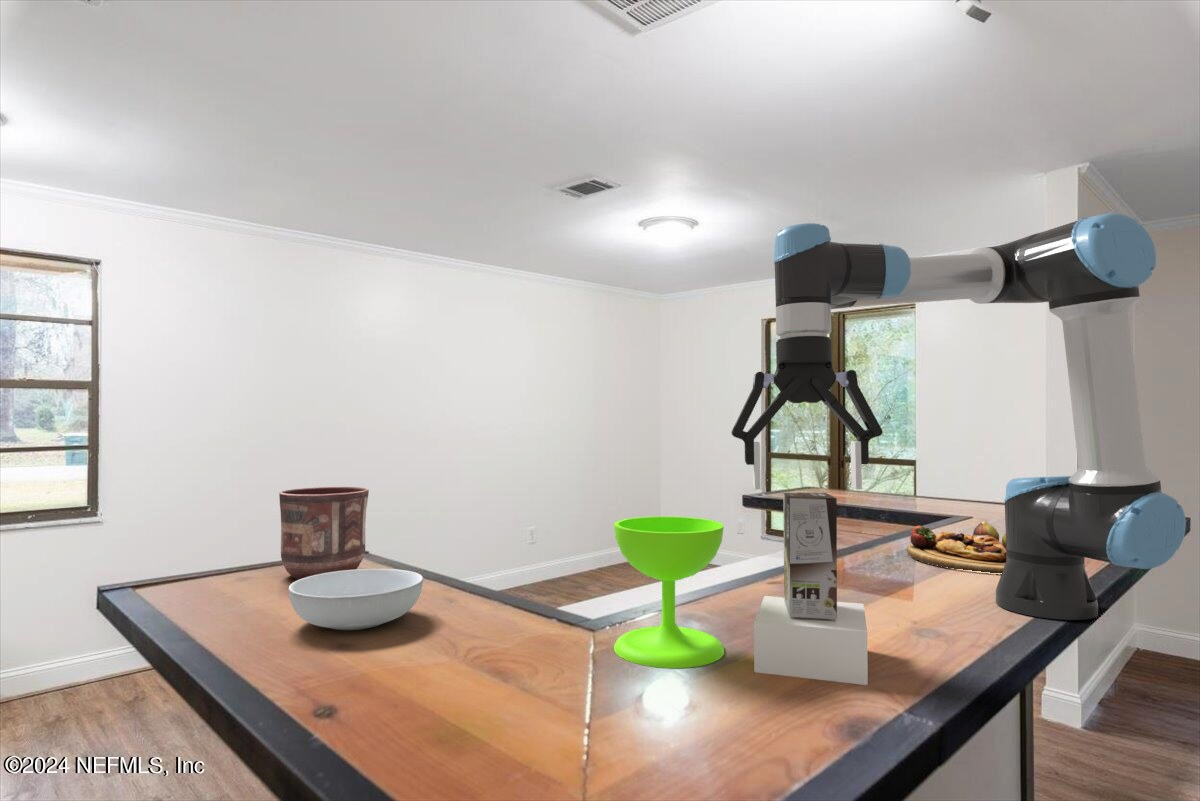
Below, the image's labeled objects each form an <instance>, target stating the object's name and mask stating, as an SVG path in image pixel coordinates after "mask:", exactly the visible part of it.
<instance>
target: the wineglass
mask: <svg viewBox="0 0 1200 801" xmlns="http://www.w3.org/2000/svg"><path fill="white" fill-rule="evenodd" d="M724 527H725V526H724V523H722V522H720V521H716V520H712V519H707V518H701V517H698V518H697V517H690V516H688V517H687V516H667V515H666V516H660V515H659V516H640V517H630V518H625V519H620V520H616V521H615V522H614V523H613V528H614V529H613V530H614V536H615V539H616V543H617V545H618V548H619V550H620V551H621V554H622V555H623V556H624V558H625V560H627V562H628V563H629V564H630V566H632V567H633V568H635V570H637V571H638V572H640V573H641V574H643V575H645V576H647V577H651V578H653V579H655V580H659V581H661V600H662V601H661V624H660V625H659V626H657V625H656V626H646V627H641V628H636V629H633V630H630V631H627V632H625V633H623V634H622V635H621V636H619V637H618V638H617V639H616V641H615V643H614V645H613V650H614V653H615V654H616V655H617V656H619V658H622V659H624V660H626V661H627V662H631V663H634V664H637V665H641V666H646V667H653V668H663V669H690V668H694V667H695V668H696V667H702V666H705V665H709V664H710V665H711V664H712V663H715V662H717V661H718V660H719V661H720V659H722V658H723V656H724V655H725V648H724V645H723V644H722V643H721V642H720V640H719V639H718V638H717V637H715V636H713V635H712V634H711V633H707V632H705V631H702V630H700V629H699V630H698V629H695V628H690V627H684V626H683V627H682V626H678V625H677V623H676V581H680V580H684V579H686V578H689V577H693V576H695V575H696V574H697V573H699V572H701V571H702V570H703V569H704V568H706V567H707V566H708V565H710V563H711V562H712V561H713V559H714V558H715V557H716V556H717V553H718V551H719V548H720V546H721V544H722V541H723V535H724V534H723V533H724Z"/></svg>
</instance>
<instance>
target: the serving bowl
mask: <svg viewBox="0 0 1200 801" xmlns="http://www.w3.org/2000/svg"><path fill="white" fill-rule="evenodd" d="M423 583H424V576H423V575H422V574H420V573H419V572H418V573H417V572H415V571H411V570H406V569H395V568H394V569H393V568H356V570H344V571H336V572H329V573H323V574H318V575H313V576H309V577H306V578H302V579H300V580H297V579H296V580H295V581H293V582H292V583H291V584H289V586H288V596H289V601H290V604H291V606H292V607H291V608H293V610H294V612H295V613H296V615H298V617H299V618H300V619H301V620H303V621H305V622H306V623H308V624H311V625H314V626H317V627H321V628H327V629H333V630H336V631H337V630H338V631H359V630H367V629H370V628H374V627H378V626H380V625H381V626H382V625H383V624H386V623H388V622H391V621H394V620H395V619H398V618H401V617H403V615H405V614H406V613H408V612H409V611H410V610H412V608H413V607H414V606H415V604H416V603H417V601H418V600H419V598H420V596H421V593H422V590H423V589H422V588H423Z"/></svg>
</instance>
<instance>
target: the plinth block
mask: <svg viewBox="0 0 1200 801" xmlns="http://www.w3.org/2000/svg"><path fill="white" fill-rule="evenodd" d="M867 627H868V626H867V620H866V613H865V604H864V603H859V602H858V603H857V602H847V601H845V602H844V601H837V619H835V620H830V619H818V618H799V617H790V615H789V613H788V610H787V607H786V605H785V602H784V597H782V596H772V595H771V596H770V595H764V596H763V598H762V601H761V604H760V606H759V609H758V611H757V613H756V616H755V618H754V620H753V653H754V654H753V655H754V656H753V663H754V664H753V667H754V668H753V669H754V670H753V672H754V673H759V674H768V675H774V676H775V675H777V676H783V677H792V678H801V679H802V678H803V679H811V680H818V681H828V682H835V683H847V684H854V685H862V686H868V684H869V682H868V681H869V680H868V677H869V676H868V674H869V673H868V671H869V670H868V665H869V664H868V663H869V661H868V658H869V657H868V628H867Z"/></svg>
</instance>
